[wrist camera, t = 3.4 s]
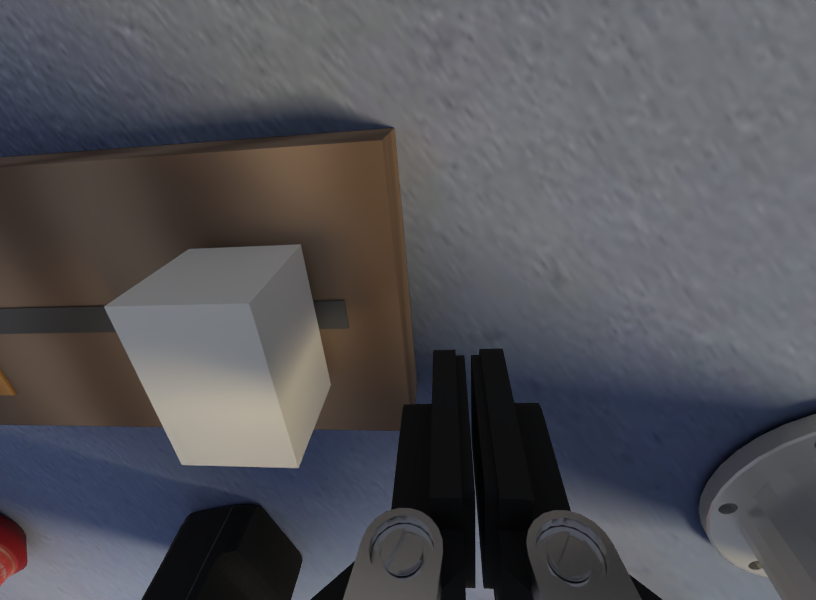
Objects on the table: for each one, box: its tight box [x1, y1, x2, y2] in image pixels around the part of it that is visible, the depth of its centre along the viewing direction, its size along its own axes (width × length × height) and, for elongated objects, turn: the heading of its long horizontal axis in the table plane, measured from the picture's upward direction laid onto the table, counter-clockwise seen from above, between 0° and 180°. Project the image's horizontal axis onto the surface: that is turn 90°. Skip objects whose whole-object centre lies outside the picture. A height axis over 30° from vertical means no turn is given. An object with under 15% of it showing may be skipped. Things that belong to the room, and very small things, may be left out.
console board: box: [0, 128, 417, 431], centre depth 18 cm, size 26×12×3 cm, turn 94°
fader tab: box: [104, 244, 331, 468], centre depth 14 cm, size 4×6×4 cm, turn 4°
